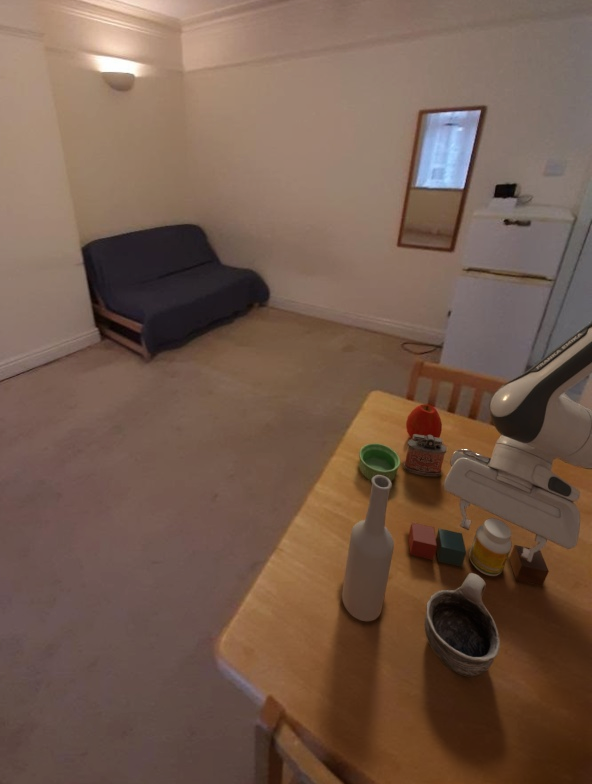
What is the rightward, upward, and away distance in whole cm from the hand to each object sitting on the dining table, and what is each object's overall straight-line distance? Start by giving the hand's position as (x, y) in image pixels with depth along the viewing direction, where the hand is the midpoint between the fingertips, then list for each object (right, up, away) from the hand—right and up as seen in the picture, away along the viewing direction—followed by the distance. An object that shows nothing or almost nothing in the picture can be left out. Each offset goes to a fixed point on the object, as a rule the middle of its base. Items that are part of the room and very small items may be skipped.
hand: (493, 543), depth 71 cm
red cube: (-10, -4, +6) cm, 13 cm away
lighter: (-2, +4, +24) cm, 24 cm away
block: (-6, -5, +5) cm, 9 cm away
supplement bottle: (0, -5, +3) cm, 6 cm away
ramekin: (-12, +4, +24) cm, 27 cm away
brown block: (+6, -6, +1) cm, 9 cm away
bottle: (-24, -9, -2) cm, 26 cm away
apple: (+2, +9, +33) cm, 34 cm away
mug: (-11, -11, -8) cm, 18 cm away
